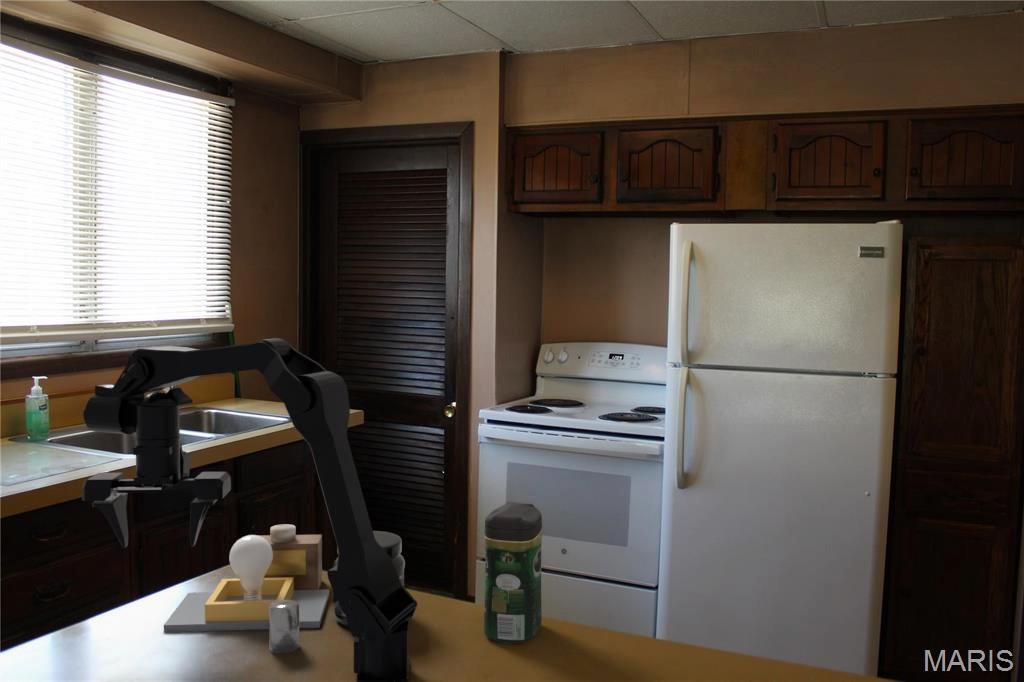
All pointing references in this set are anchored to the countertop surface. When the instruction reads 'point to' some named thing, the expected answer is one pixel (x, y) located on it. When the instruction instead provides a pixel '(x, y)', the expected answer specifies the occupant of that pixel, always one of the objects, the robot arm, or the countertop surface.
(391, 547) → the supplement container
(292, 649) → the silver metal cylinder
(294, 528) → the lamp unit
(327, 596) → the board
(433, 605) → the countertop surface
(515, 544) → the coffee jar
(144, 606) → the countertop surface
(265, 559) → the lightbulb
